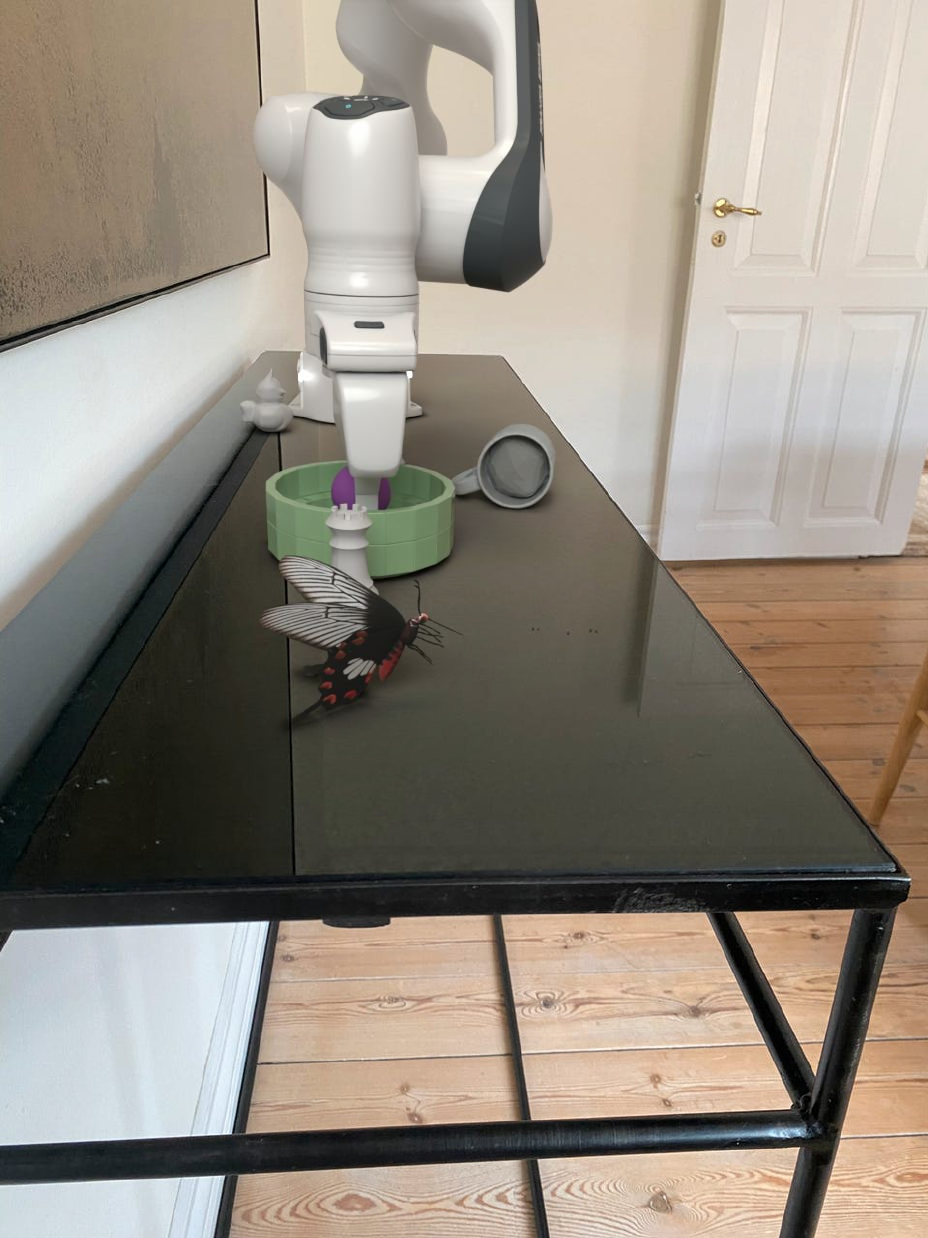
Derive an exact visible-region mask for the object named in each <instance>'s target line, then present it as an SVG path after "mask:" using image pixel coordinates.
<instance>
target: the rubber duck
mask: <svg viewBox="0 0 928 1238" xmlns="http://www.w3.org/2000/svg"><path fill="white" fill-rule="evenodd" d="M286 393H287V390H285V388H284V389H283V387H282V386H281V383H280V381H279V380H278V379H277V378H276V377H274V371H273V368H271V369H270V371H269V373H268V374H267V375H266V376H265V377H264V378H263V379H262V380H260V382H259V383H258V384H257V386H256V389H255V396H256V397H257V399H258V400H259V401H258V402H256V401H254V400H250V399H249V400H243V401H241V402H240V403H239V409H240V411H241V413H242V415H241V420H242V421H243V422H244V423H253V424H254V425H255V426H256V427H257V428H258V429H259V430H261V431H262V432H266V433H280V432H282V431H284V430H285V429H286V428H288V427H289V425H290V424H292V422H293V418H294V415H293V411H292V409H291V408H290V407H289V406H288V405H289V404H287V403H286V402H284V401H282V400H284V398H285V394H286Z"/></svg>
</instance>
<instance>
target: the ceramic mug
mask: <svg viewBox="0 0 928 1238" xmlns="http://www.w3.org/2000/svg"><path fill="white" fill-rule="evenodd" d="M556 458H557V457H556V450H555V447H554V445H553V442H552V440H551V439H550V437H549V436H548V435H547V433H546V432H544V431H543V430H542V429H540V428H539V427H536V426H534V425H532V424H528V423H513V424H510V425H508V426H505V427H503V428H502V429H500V430H499V431H497V432H496V433H495V435H494V436H493V437H492V438H491V439H490V440H489V441H488V442H487V443H486V444H485V446H484V447H483V448H482V450H481V452H480V454H479V457H478V458H477V464H476V466H474V467H472V468H470V469H467V470H465V471H463V472H461V473H459V474H457V475H455V476H454V477H453V478H452V479H450V480H451V482H452V483H453V485H454V486H455V496H462V495H467V494H471V493H475V492H477V491H480V490H481V491H482V492H483V494H484V495H485V496H486V497H487V498H488V499H489V500H490V501H491V502H493V503H494V504H496V505H498V506H501V507H504V508H507V509H515V510H516V509H524V508H527V507H531V506H533V505H534V504H537V503H538V502H540V500H542V498H543V497H544V496H545V495H546V494H547V493H548V492H549V490H550V488H551V485H552V483H553V479H554V475H555V467H556V461H557V459H556Z"/></svg>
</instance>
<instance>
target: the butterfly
mask: <svg viewBox="0 0 928 1238" xmlns="http://www.w3.org/2000/svg"><path fill="white" fill-rule="evenodd" d="M278 569H279V572H280V574H281V575H282V577H283V578H284V579H285V580H286V581H287V582H288V583H289V584H290V585H291V586H292V587H293V588H294V589H295V591H296V592H297V593H298V594H299V595H300V596H301V597H302V598H303V599H304V600H305V601H301V602H291V603H286V604H280V605H275V606H272V607H268V608H266V609H265V610H263V612H262V613H261V615H260V616H259V620H258V622H259V623H260V626H262V627H263V628H265V629H266V630H269V631H272V632H274V633H277V634H280V635H282V636H284V637H286V638H288V639H291V640H293V641H296V642H299V643H301V644H304V645H307V646H309V647H312V648H314V649H318V650H322V651H324V652H327V658H326V660H325V661H324V663H318V664H314V665H313V664H312V665H304V666H303V667H302V674H304V676H305V677H314V676H315V675H317V674H319V676H320V680H321V683H320V685H319V686H318V687H317V690H318V691H319V693H320V694H321V695H320V698H319V699H318V700H317V701H316V702H315V703H313V704H312V705H310V706H309V707H307V708H306V709H304V710H303V711H302V712H301V713H298V714H296V715H295V716H294V717H293V718H291V721H290V724H291V725H292V724H293V725H294V724H297V723H299V722H301V721H302V720H305V719H306V717H308V716H309V714H310V713H312V712H313V711H315V710H317V709H319V708H323V709H325V710H327V711H328V710H331V709H333V708H335V707H337V706H339V705H342V704H343V705H349V704H352V703H354V702H355V701H357V700H359V698H360V695H362V692H363V690H364V689H365V688H366V686H367V685H368V683H369V681H370V680H371V678H372V676H373V674H374V672H375V671H376V670H377V669H378V675H379V680H380V682H384V681H385V680H386V679H387V678H388V677H389V676H390V675H391V674H392V673H393V671H394V670H395V668H396V666H397V665H398V662H400V660H401V657H402V655H403V652H404V650H405V647H407V649H409V650H412V651H416V652H417V653H418V654H419V655H420V656H422V658H423V659H425V660H426V661H427V662H428V663H429V664H430V665H431V666H433V660H431V658H430V657H429V656H427V655H426V653H425V652H424V651H423V650H422V649H421V648H420V647H419V646H418V645H416V644H414V642H415V640H416V639H419V640H421V641H424V642H426V643H428V644H431V645H434V646H439V647H440V648H445V647H444V645H442V640H440V639H439V638H443V639H444V636H443V635H441V634H442V633H441V632H440V631H438V630H436V629H435V628H433V627H431V626H429V625H427V624H426V622H427V621H429V622H432V623H434V624H436V625H438V626H440V627H443V628H445V629H447V630H449V631H452V633H453V632H454V633H456V634H458V635H460V636H464V634H462V633H460V632H459V631H456V630H454V629H452V628H450V627H449V626H445V625H443V624H441V623H440V622H437V621H435V620H433V619H431V618H430V617H428V615H427V613H422V611H421V607H420V606H421V588H420V582H419V580H417V579H413V582H415V583H416V584H414V585H413V586H414V588H416V589H417V590H418V594H417V612H418V615H417V616H414V617H411V618H409V619H408V620H407V621H406V619H405V618H404V616H403V615H402V614H401V612H400V611H399V610H398V609H397V607H395V606H394V605H392V604H391V602H390V601H388V600H386V599H385V598H383V597H382V596H380V594H379V595H377V594H376V593H375V592H373V591H372V590H370V589H369V588H367V587H366V586H364V585H363V584H361V583H360V582H358V581H357V580H355V579H353V578H352V577H350V576H349V575H347V574H346V573H344V572H343V571H341V570H339V569H337V568H335V567H333V566H331V565H329V564H326V563H323V562H321V561H318V560H315V559H311V558H308V557H302V556H295V555H286V556H284V557H282V559H281V561H280V560H279V562H278ZM421 626H423V627H426V628H428V629H430V630H433V631H434V632H435V633H437V634H434V633H431V632H430V631H428V630H427V629H426V628H423V627H421ZM419 629H420V630H422V631H420V630H419ZM418 634H421V635H425V636H430V637H433V638H434V639H435V640H436V641H437V642H438V643H436V642H433V641H431V640H427V639H426V638H424V637H421V636H419V635H418ZM437 637H439V638H437Z"/></svg>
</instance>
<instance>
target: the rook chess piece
mask: <svg viewBox="0 0 928 1238" xmlns="http://www.w3.org/2000/svg"><path fill="white" fill-rule="evenodd" d="M325 523H326V525H327V526H328V527H329V529H330V530H331V531H332V539H331V540H330V541H329V544H330V545H331V546H332V562H331V566H333V567H335V568H337V569H339V570H341V571H343V572H344V573H346V574H347V575H349V576H350V577H352V578H353V579H355V580H357V581H358V582H360V583H361V584H363V585H364V586H366V587H367V588H369V589H370V590H372V591H373V592H375V593H376V594H377V595H379V596H380V593H379V590H378V589H377V588H376V586H375V585H374V581H373V579H371V578H370V575H369V572H368V565H367V558H366V547H367V546H368V544H369V541H368V540H367V539H366V535H365V534H366V531H367V530H368V529H369V527H370V526H371V525H372V521H371V519H370V518H369V517H368V516H367V508H366V507H361V511H360V505H358V504H353V510H347V504H340V511H338V506H333V507H331V515H330V516H329V517H328V519H327V520H326V522H325Z"/></svg>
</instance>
